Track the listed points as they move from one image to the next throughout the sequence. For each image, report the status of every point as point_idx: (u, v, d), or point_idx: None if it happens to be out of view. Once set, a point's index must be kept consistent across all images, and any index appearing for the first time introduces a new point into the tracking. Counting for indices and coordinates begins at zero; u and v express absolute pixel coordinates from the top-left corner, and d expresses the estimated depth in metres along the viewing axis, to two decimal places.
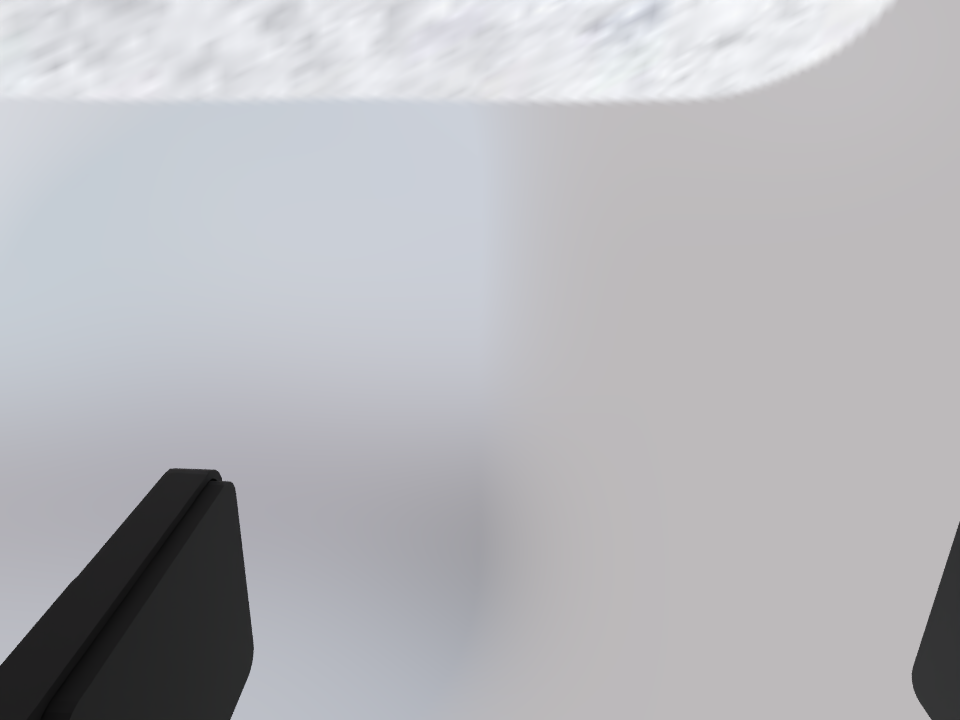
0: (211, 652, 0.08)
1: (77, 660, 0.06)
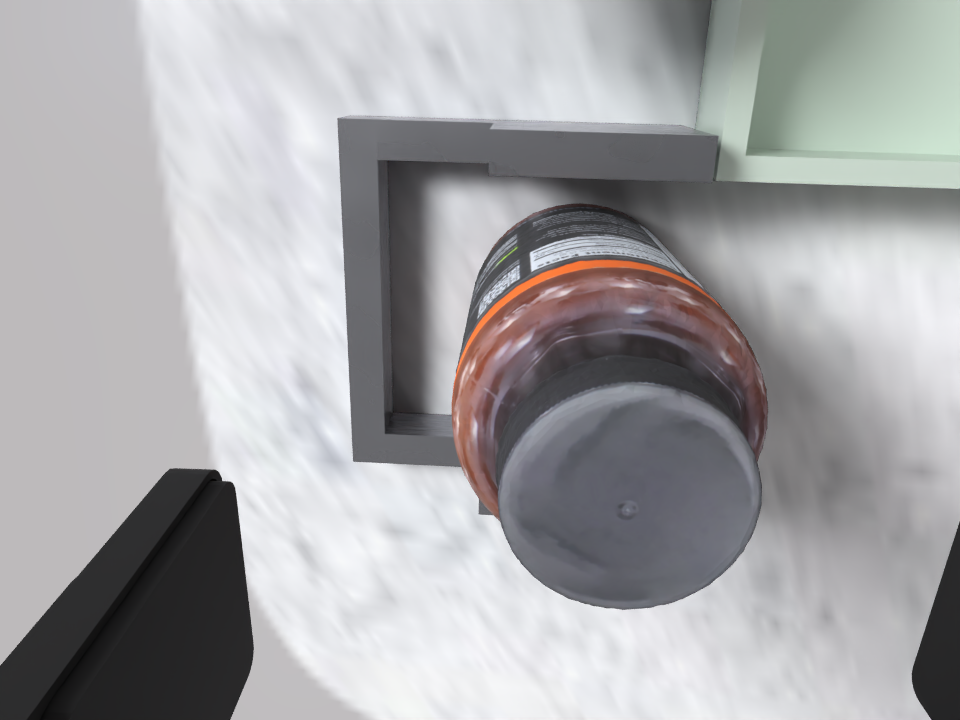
0: (211, 652, 0.08)
1: (77, 660, 0.06)
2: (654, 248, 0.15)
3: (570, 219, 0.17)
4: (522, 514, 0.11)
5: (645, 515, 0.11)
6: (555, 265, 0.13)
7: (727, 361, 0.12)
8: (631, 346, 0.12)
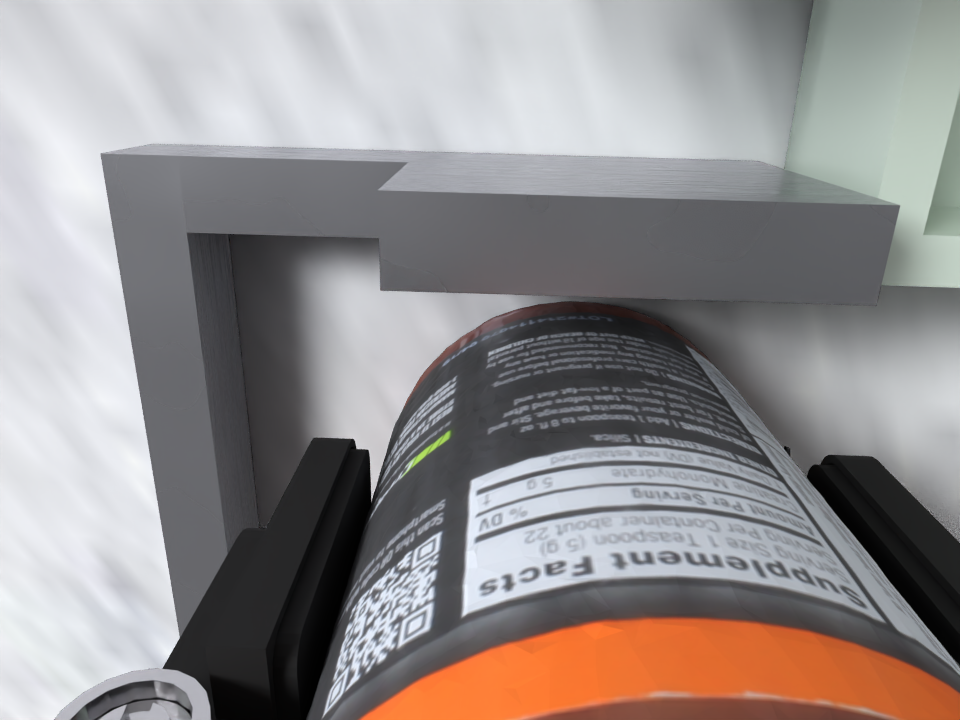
0: None
1: (292, 592, 0.07)
2: (761, 472, 0.07)
3: (561, 362, 0.08)
4: None
5: None
6: (527, 618, 0.05)
7: None
8: None
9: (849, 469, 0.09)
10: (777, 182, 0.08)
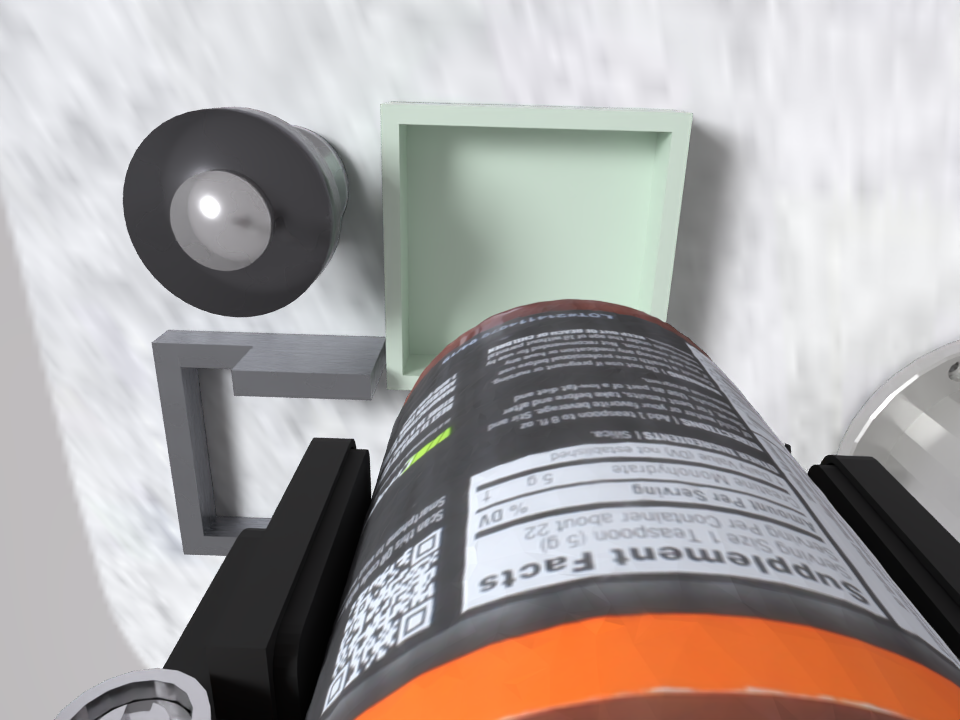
0: None
1: (292, 592, 0.07)
2: (763, 469, 0.06)
3: (561, 359, 0.08)
4: None
5: None
6: (527, 613, 0.05)
7: None
8: None
9: (849, 469, 0.09)
10: (360, 358, 0.27)
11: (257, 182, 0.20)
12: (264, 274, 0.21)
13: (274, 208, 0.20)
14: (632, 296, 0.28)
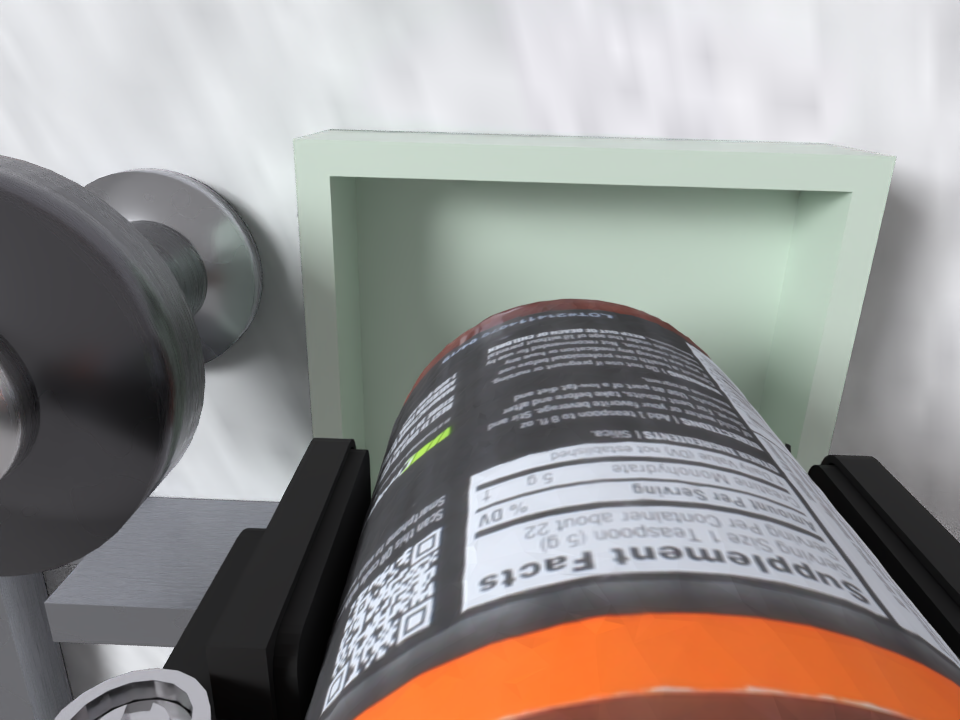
0: None
1: (292, 592, 0.07)
2: (763, 468, 0.06)
3: (561, 358, 0.08)
4: None
5: None
6: (527, 612, 0.05)
7: None
8: None
9: (849, 469, 0.09)
10: None
11: None
12: (29, 500, 0.10)
13: (33, 374, 0.09)
14: None
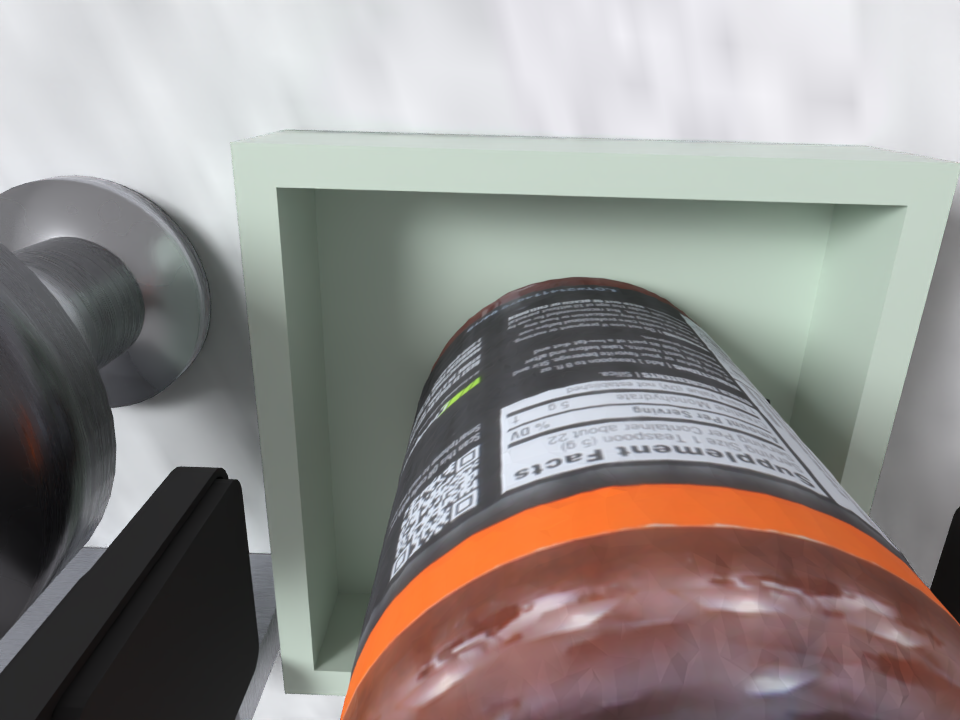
0: (218, 649, 0.08)
1: (88, 656, 0.06)
2: (739, 401, 0.08)
3: (572, 322, 0.10)
4: None
5: None
6: (552, 488, 0.06)
7: None
8: None
9: None
10: None
11: None
12: None
13: None
14: None
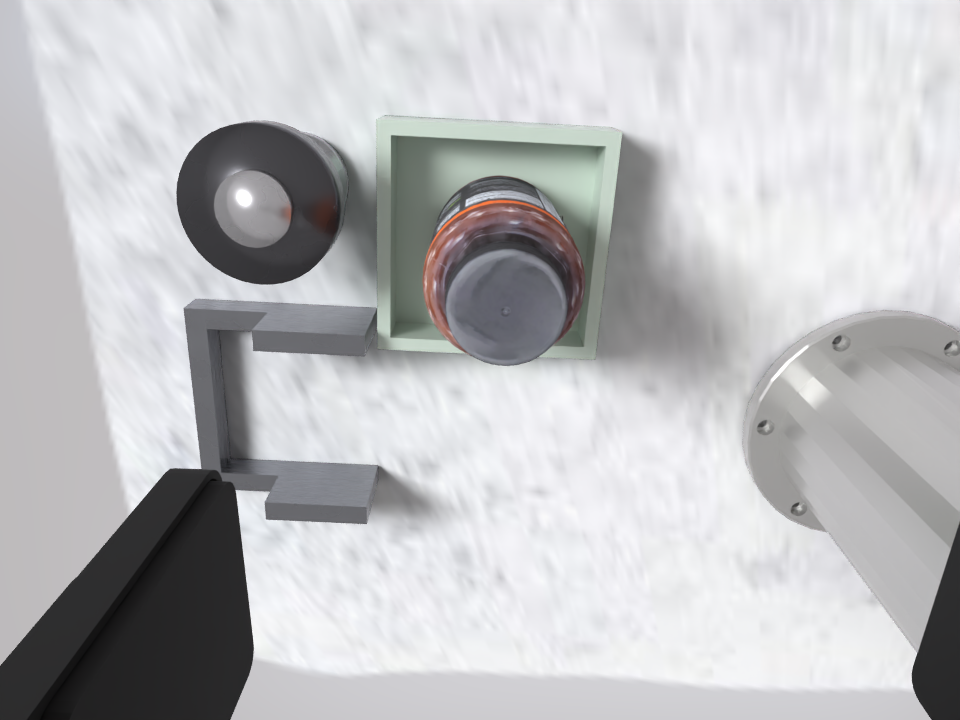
0: (211, 652, 0.08)
1: (77, 660, 0.06)
2: (535, 198, 0.28)
3: (491, 183, 0.29)
4: (456, 314, 0.23)
5: (514, 314, 0.23)
6: (477, 203, 0.26)
7: (559, 249, 0.24)
8: (510, 238, 0.24)
9: None
10: (356, 323, 0.33)
11: (281, 180, 0.26)
12: (284, 251, 0.27)
13: (294, 200, 0.27)
14: None
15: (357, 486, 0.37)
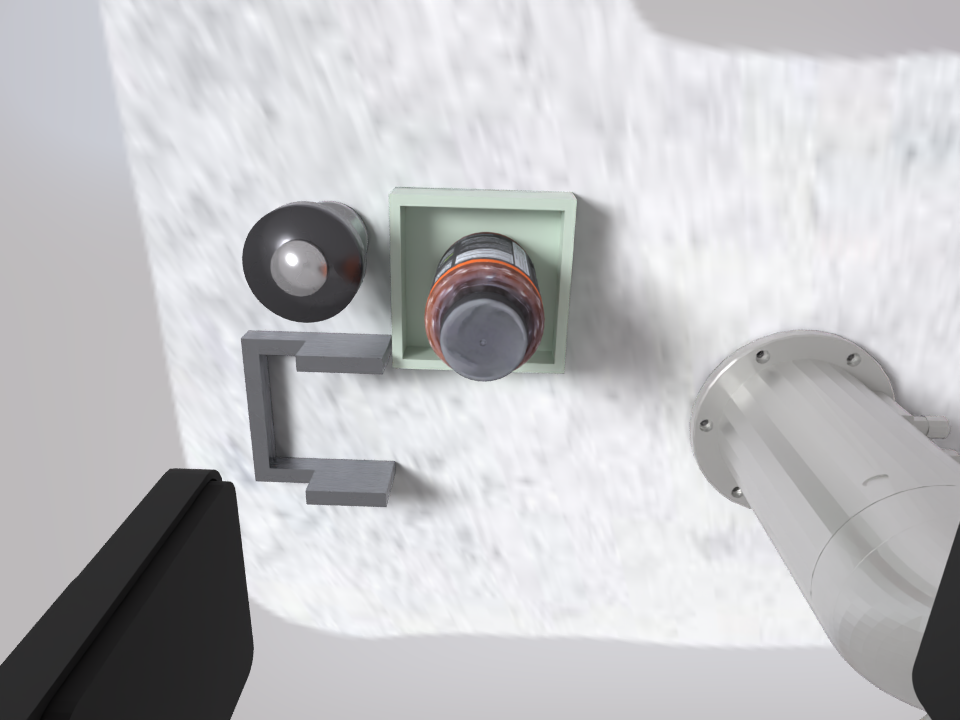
0: (211, 652, 0.08)
1: (77, 660, 0.06)
2: (508, 253, 0.37)
3: (477, 240, 0.39)
4: (448, 345, 0.32)
5: (489, 344, 0.32)
6: (463, 261, 0.35)
7: (523, 295, 0.33)
8: (486, 289, 0.33)
9: None
10: (375, 348, 0.42)
11: (319, 246, 0.36)
12: (322, 297, 0.37)
13: (328, 260, 0.36)
14: (550, 308, 0.43)
15: (378, 477, 0.46)
